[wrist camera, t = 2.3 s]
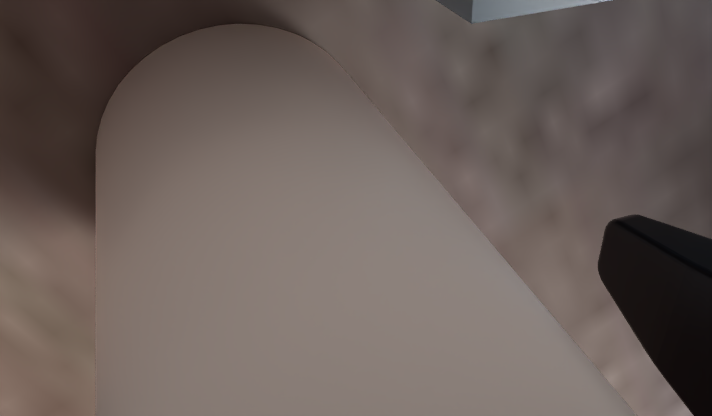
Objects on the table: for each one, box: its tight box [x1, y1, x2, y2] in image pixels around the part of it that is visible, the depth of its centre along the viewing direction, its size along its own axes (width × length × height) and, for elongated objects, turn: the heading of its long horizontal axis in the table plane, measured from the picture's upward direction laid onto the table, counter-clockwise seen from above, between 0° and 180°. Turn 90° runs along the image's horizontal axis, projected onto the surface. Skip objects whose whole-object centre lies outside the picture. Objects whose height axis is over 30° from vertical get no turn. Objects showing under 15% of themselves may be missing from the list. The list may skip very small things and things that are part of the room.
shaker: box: [95, 24, 637, 416], centre depth 8 cm, size 5×5×10 cm
